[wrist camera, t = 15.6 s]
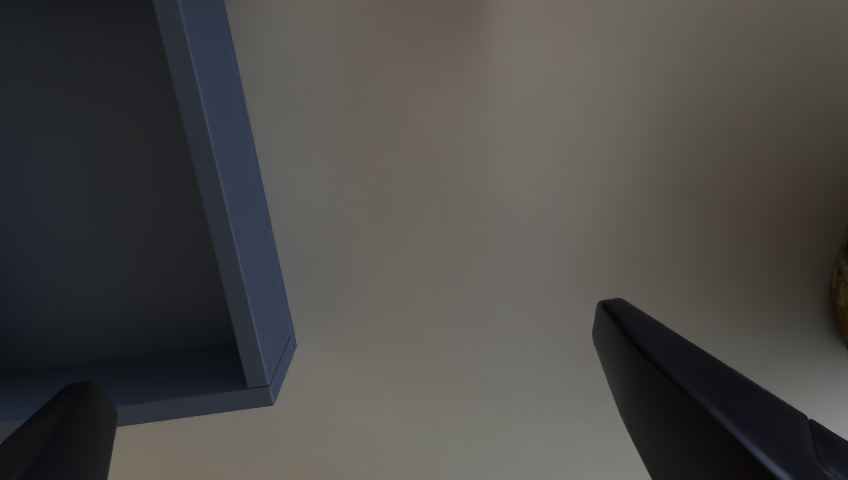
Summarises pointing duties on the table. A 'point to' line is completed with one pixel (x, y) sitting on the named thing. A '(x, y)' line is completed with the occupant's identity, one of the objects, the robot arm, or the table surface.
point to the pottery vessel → (841, 290)
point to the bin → (133, 214)
